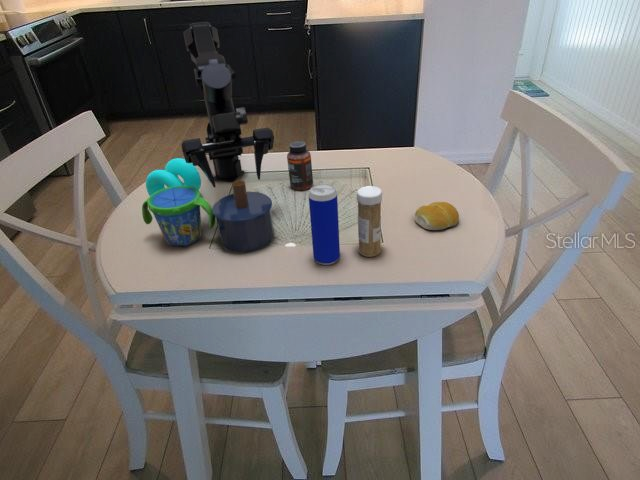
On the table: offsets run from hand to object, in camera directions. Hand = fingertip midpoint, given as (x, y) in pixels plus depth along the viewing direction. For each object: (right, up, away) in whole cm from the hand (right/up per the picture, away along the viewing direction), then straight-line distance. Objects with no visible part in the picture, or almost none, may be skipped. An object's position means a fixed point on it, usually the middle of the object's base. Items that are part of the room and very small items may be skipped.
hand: (237, 182), depth 94 cm
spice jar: (+27, -14, -3) cm, 31 cm away
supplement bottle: (+12, +2, +23) cm, 26 cm away
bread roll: (+42, -8, +5) cm, 43 cm away
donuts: (-18, -2, +20) cm, 27 cm away
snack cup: (-12, -12, +5) cm, 18 cm away
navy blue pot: (+2, -11, +3) cm, 12 cm away
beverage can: (+18, -16, -5) cm, 25 cm away
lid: (+1, -5, -1) cm, 5 cm away
